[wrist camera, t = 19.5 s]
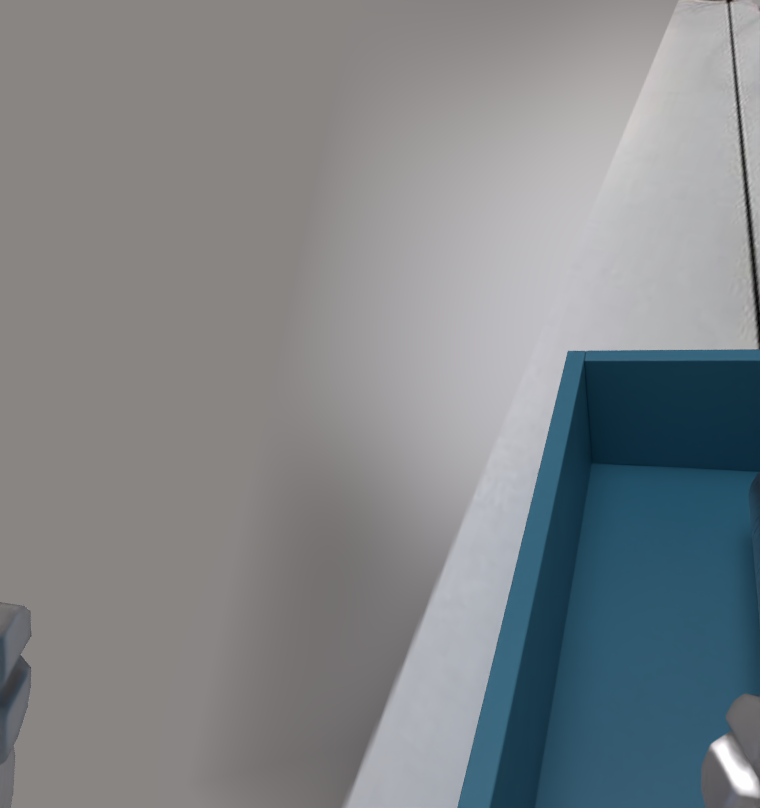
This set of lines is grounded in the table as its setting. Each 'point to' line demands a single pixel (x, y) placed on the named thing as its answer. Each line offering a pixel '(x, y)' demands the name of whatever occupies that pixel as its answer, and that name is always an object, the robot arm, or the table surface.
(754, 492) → the slim can
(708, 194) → the table surface
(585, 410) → the blue open box
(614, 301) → the table surface
